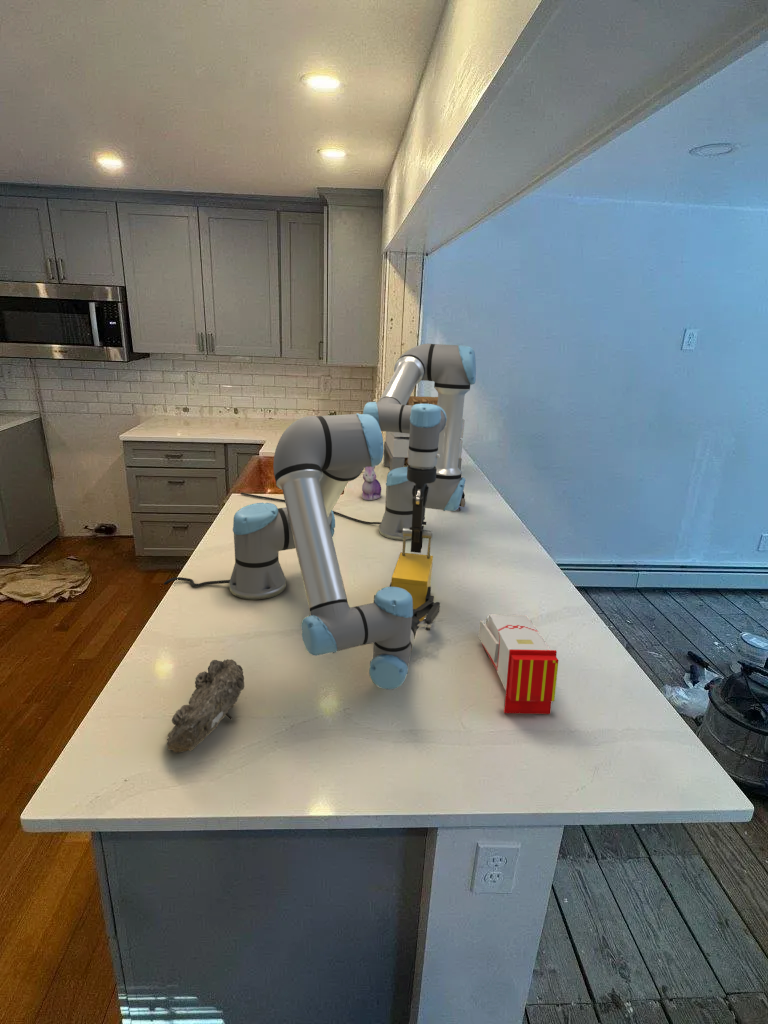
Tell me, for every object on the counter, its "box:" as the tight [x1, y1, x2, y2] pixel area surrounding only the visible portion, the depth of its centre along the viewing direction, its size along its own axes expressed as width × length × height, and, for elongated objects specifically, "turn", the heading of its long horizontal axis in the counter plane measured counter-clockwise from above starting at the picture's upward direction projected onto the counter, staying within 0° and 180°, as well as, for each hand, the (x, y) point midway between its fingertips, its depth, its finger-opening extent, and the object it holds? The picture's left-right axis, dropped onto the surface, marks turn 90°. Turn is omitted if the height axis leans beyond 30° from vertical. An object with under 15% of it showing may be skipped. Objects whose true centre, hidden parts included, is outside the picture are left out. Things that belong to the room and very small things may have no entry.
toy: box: [477, 613, 560, 715], centre depth 124 cm, size 12×13×30 cm
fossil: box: [166, 658, 245, 754], centre depth 106 cm, size 22×10×15 cm
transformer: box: [383, 395, 465, 472], centre depth 268 cm, size 34×33×41 cm
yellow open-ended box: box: [390, 561, 433, 621], centre depth 150 cm, size 16×9×10 cm, turn 170°
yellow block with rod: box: [390, 528, 434, 585], centre depth 147 cm, size 16×9×9 cm, turn 171°
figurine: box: [361, 466, 382, 501], centre depth 234 cm, size 9×10×15 cm
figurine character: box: [457, 490, 466, 511], centre depth 229 cm, size 7×8×15 cm
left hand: (410, 589), depth 147 cm, fingers closed on yellow open-ended box, 9 cm apart
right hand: (416, 549), depth 153 cm, fingers closed on yellow block with rod, 2 cm apart
